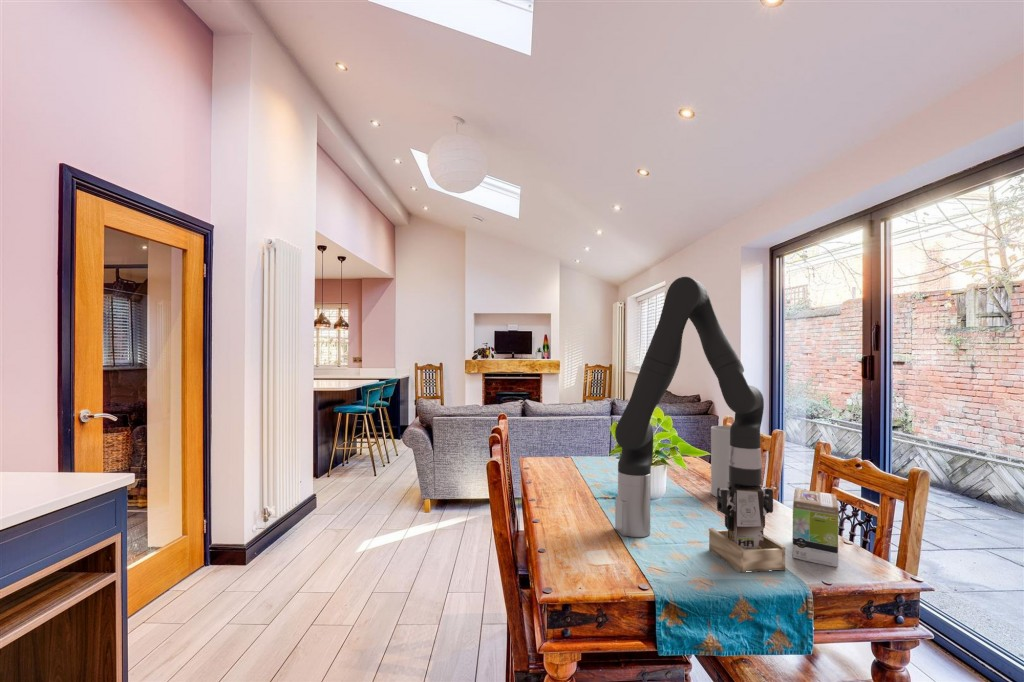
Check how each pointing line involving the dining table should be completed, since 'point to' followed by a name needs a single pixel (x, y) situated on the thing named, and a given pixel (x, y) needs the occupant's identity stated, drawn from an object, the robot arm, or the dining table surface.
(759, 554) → the crate
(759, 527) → the coffee box
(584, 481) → the dining table surface
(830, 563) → the tea box
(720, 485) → the cylinder vase
